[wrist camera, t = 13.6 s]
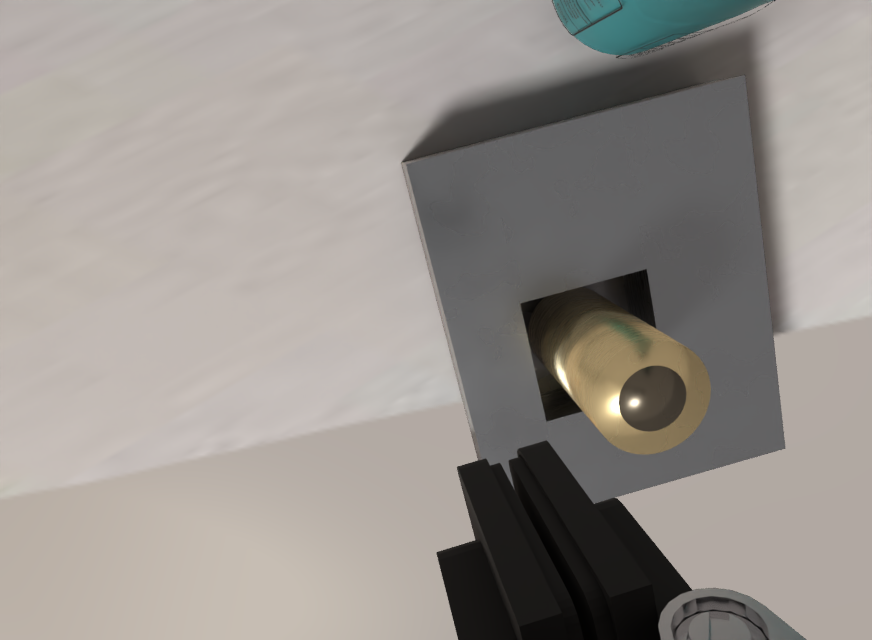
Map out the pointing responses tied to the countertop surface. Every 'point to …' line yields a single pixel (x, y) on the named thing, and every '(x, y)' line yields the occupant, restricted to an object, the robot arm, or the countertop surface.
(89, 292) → the countertop surface
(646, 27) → the beverage bottle
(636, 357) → the bushing
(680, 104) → the jig
